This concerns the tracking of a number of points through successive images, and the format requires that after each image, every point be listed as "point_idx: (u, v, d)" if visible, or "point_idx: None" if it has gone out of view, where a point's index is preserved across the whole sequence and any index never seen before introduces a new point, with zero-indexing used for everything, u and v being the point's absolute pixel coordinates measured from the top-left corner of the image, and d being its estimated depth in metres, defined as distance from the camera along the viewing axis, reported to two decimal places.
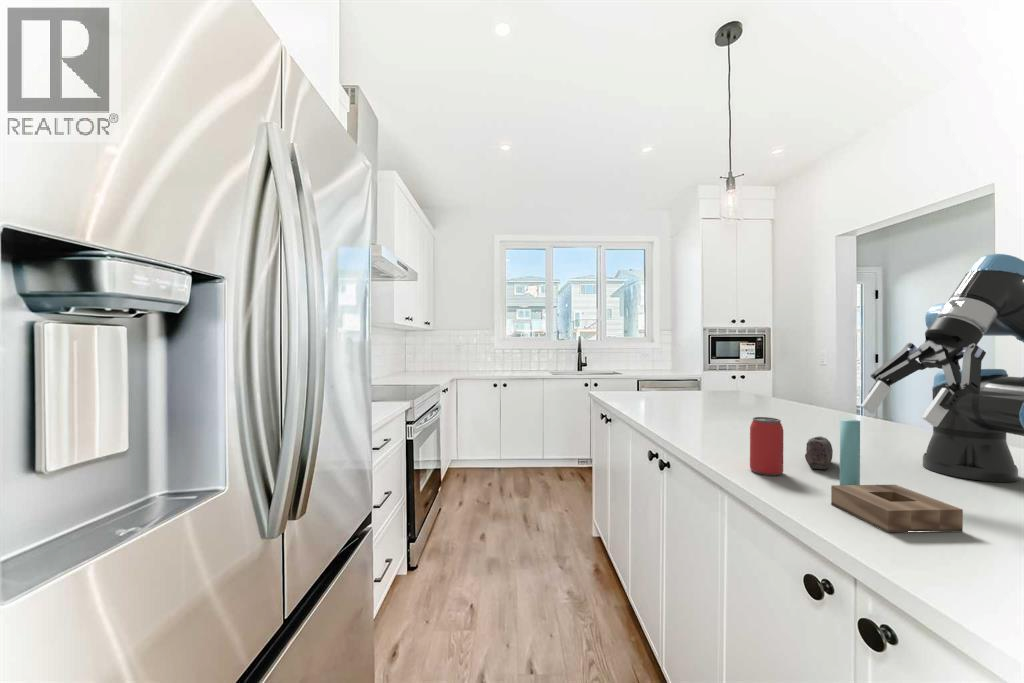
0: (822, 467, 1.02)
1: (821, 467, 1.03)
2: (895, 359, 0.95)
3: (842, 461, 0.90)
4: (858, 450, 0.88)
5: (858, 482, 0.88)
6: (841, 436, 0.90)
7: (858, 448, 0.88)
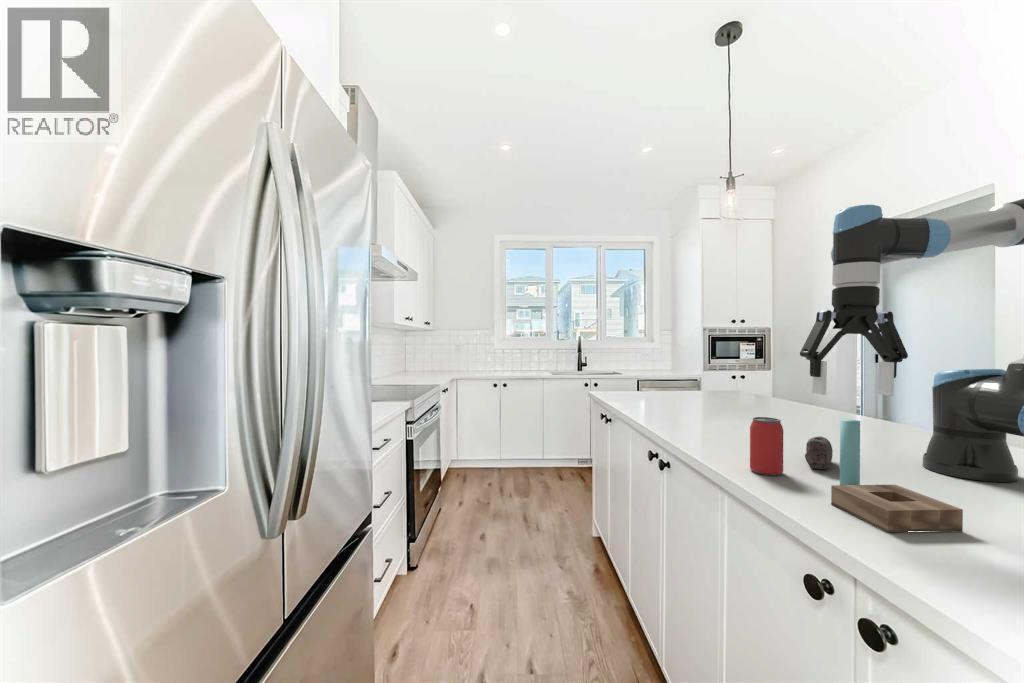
0: (822, 467, 1.02)
1: (821, 467, 1.03)
2: None
3: (842, 461, 0.90)
4: (858, 450, 0.88)
5: (858, 482, 0.88)
6: (841, 436, 0.90)
7: (858, 448, 0.88)
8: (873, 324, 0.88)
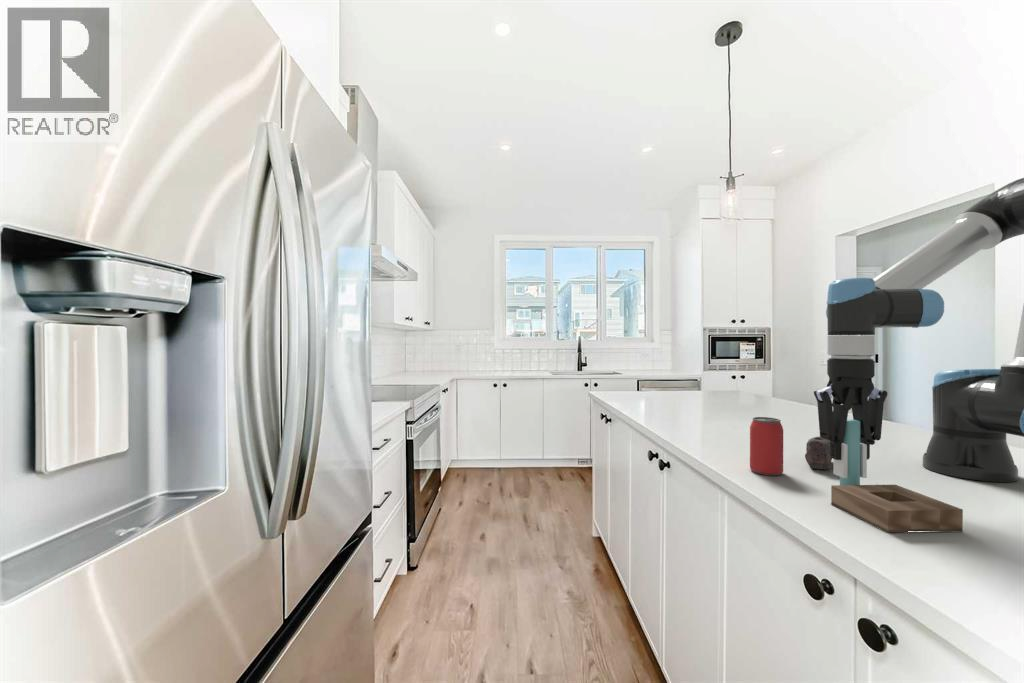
0: (822, 467, 1.02)
1: (821, 467, 1.03)
2: None
3: None
4: (858, 450, 0.88)
5: (858, 482, 0.88)
6: None
7: (858, 448, 0.88)
8: (865, 398, 0.88)
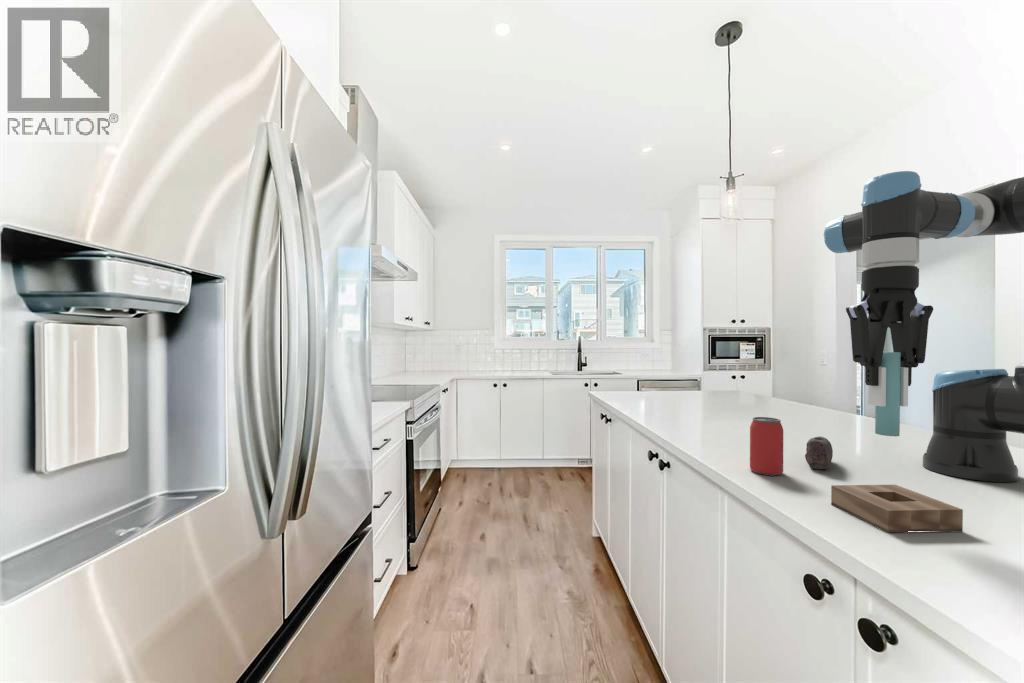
0: (822, 467, 1.02)
1: (821, 467, 1.03)
2: None
3: None
4: (898, 386, 0.76)
5: (898, 423, 0.76)
6: None
7: (898, 383, 0.76)
8: (907, 313, 0.76)
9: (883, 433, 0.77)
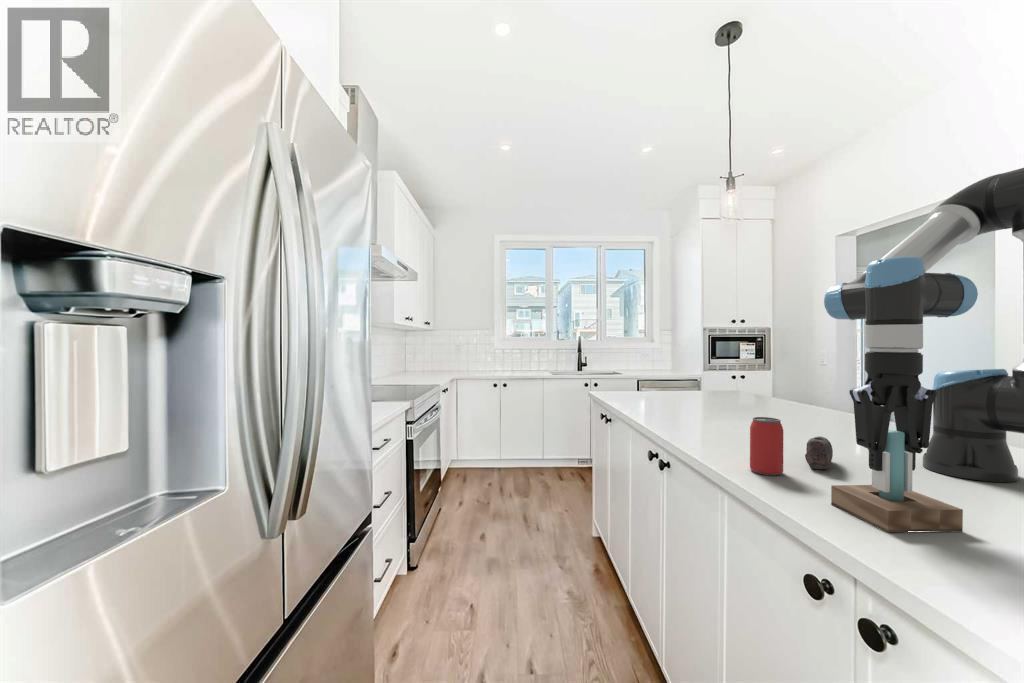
0: (822, 467, 1.02)
1: (821, 467, 1.03)
2: None
3: None
4: (902, 467, 0.75)
5: None
6: None
7: (902, 464, 0.75)
8: (911, 398, 0.75)
9: None
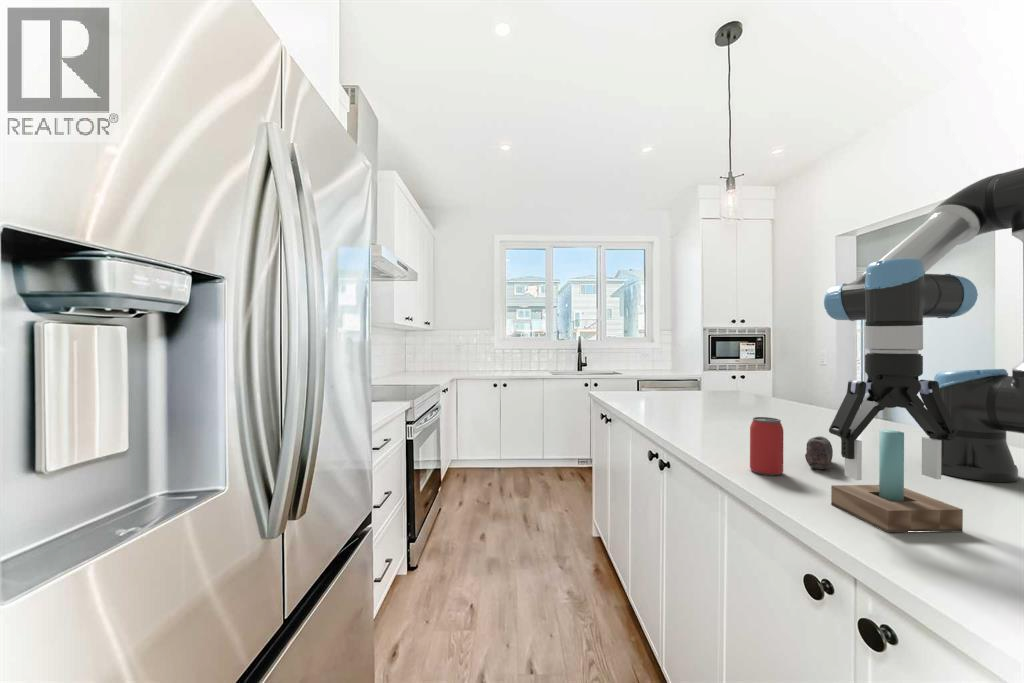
0: (822, 467, 1.02)
1: (821, 467, 1.03)
2: None
3: (882, 479, 0.77)
4: (902, 467, 0.75)
5: None
6: (881, 450, 0.77)
7: (902, 464, 0.75)
8: (916, 397, 0.75)
9: None
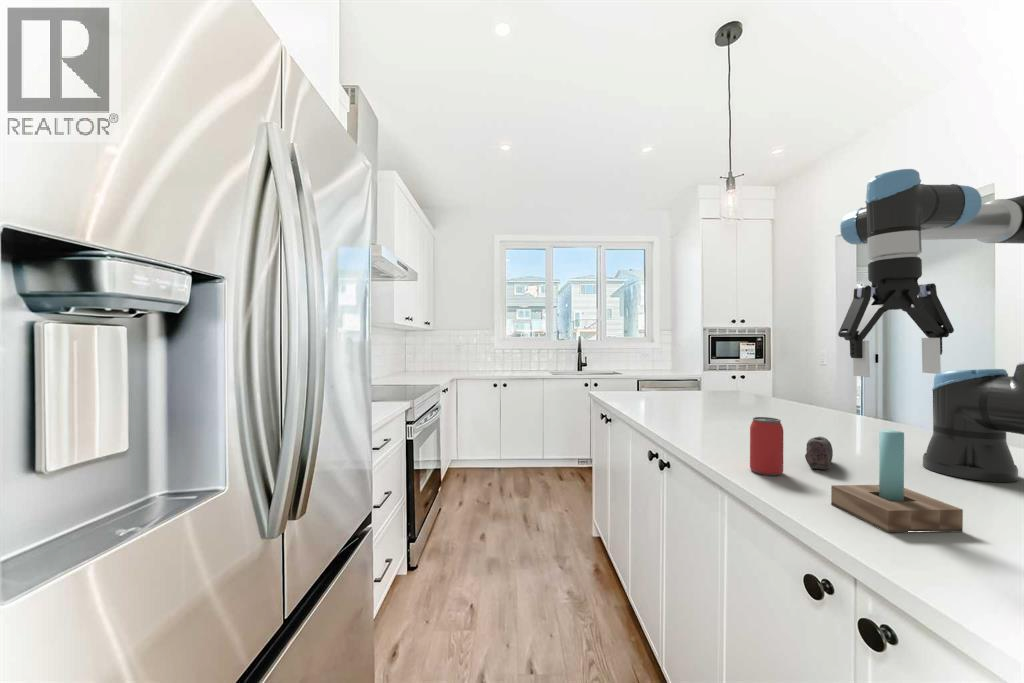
0: (822, 467, 1.02)
1: (821, 467, 1.03)
2: None
3: (882, 479, 0.77)
4: (902, 467, 0.75)
5: None
6: (881, 450, 0.77)
7: (902, 464, 0.75)
8: (916, 298, 0.82)
9: None
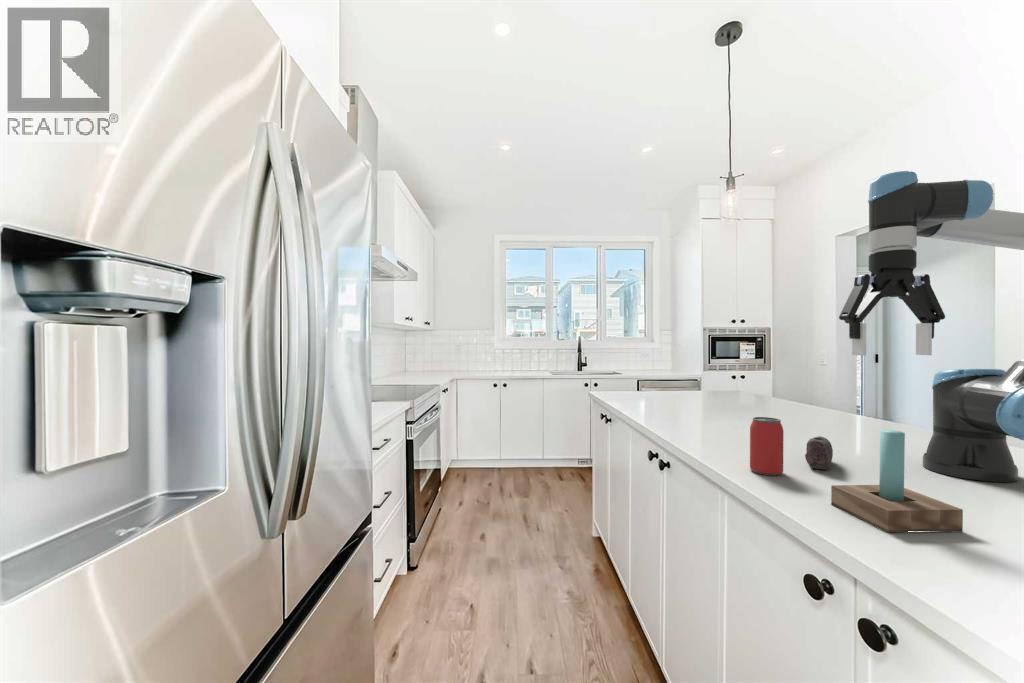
0: (822, 467, 1.02)
1: (821, 467, 1.03)
2: None
3: (883, 479, 0.77)
4: (903, 467, 0.75)
5: None
6: (881, 450, 0.77)
7: (902, 465, 0.75)
8: (910, 286, 0.91)
9: None
